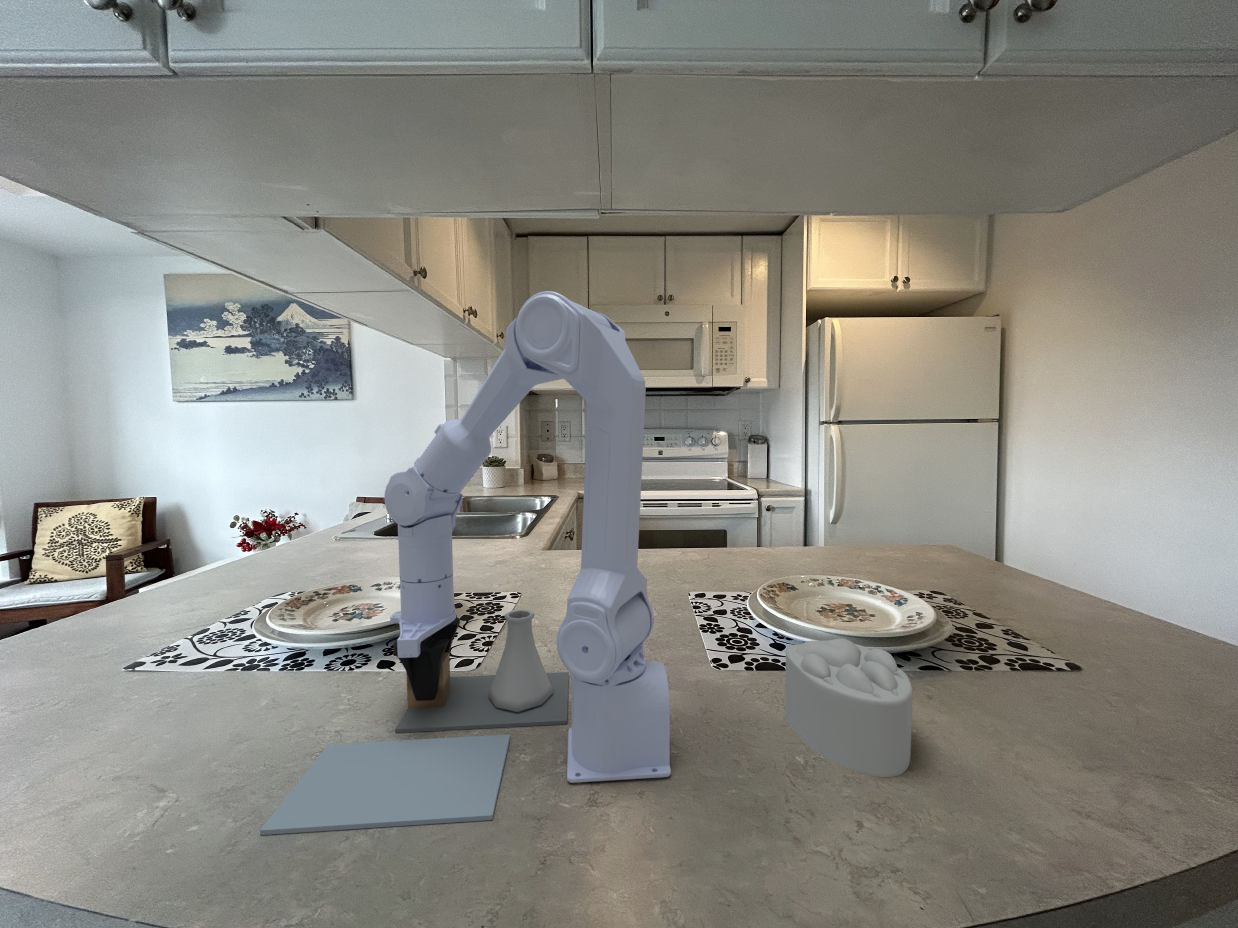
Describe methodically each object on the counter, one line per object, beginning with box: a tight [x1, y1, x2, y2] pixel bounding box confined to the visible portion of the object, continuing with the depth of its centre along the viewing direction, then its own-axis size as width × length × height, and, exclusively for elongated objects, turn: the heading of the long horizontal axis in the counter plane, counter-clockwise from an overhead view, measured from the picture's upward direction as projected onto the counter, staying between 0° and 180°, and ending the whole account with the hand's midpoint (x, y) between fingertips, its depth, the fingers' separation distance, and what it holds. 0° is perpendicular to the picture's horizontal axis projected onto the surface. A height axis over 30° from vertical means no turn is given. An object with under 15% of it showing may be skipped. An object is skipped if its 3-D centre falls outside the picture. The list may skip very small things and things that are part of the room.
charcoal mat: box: [394, 652, 570, 734], centre depth 59 cm, size 18×11×5 cm, turn 95°
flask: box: [488, 608, 554, 712], centre depth 59 cm, size 7×7×10 cm
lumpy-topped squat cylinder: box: [784, 637, 914, 778], centre depth 53 cm, size 10×13×9 cm
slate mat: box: [259, 734, 511, 836], centre depth 46 cm, size 18×11×1 cm, turn 95°
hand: (430, 690), depth 59 cm, fingers closed on charcoal mat, 3 cm apart
